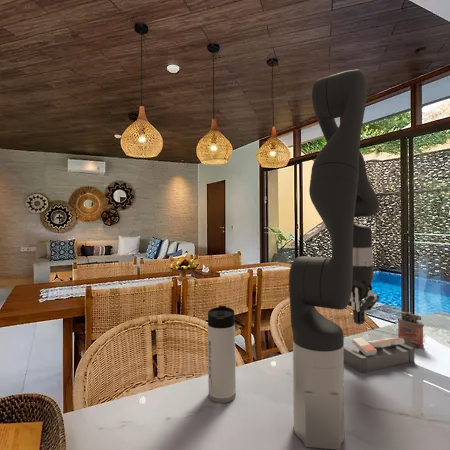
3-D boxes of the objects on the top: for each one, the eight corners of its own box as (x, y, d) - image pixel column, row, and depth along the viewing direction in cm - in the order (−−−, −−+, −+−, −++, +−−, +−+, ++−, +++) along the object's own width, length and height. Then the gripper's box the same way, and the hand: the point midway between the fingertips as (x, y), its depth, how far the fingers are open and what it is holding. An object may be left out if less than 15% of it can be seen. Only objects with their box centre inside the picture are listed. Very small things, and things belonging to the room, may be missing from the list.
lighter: (395, 340, 102) (395, 310, 102) (402, 338, 104) (401, 309, 103) (419, 349, 95) (419, 317, 95) (426, 347, 96) (426, 315, 96)
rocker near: (361, 340, 89) (362, 336, 88) (375, 354, 84) (377, 349, 83) (351, 342, 88) (352, 338, 87) (366, 355, 83) (367, 351, 82)
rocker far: (389, 342, 92) (387, 337, 92) (404, 343, 87) (403, 338, 87) (380, 343, 91) (379, 339, 91) (395, 344, 86) (394, 339, 86)
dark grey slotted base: (392, 351, 94) (391, 338, 94) (414, 361, 87) (414, 347, 87) (342, 360, 88) (342, 346, 88) (362, 372, 81) (361, 357, 81)
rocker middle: (375, 344, 90) (374, 339, 91) (391, 345, 85) (389, 340, 86) (366, 346, 89) (365, 341, 89) (381, 347, 84) (380, 342, 84)
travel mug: (236, 388, 74) (235, 305, 74) (234, 404, 68) (233, 313, 67) (210, 387, 75) (209, 305, 75) (206, 403, 68) (205, 313, 68)
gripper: (332, 260, 92) (332, 318, 93) (365, 267, 80) (366, 333, 80) (352, 259, 95) (352, 315, 95) (387, 265, 82) (388, 329, 83)
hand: (359, 323), depth 88 cm, fingers closed
